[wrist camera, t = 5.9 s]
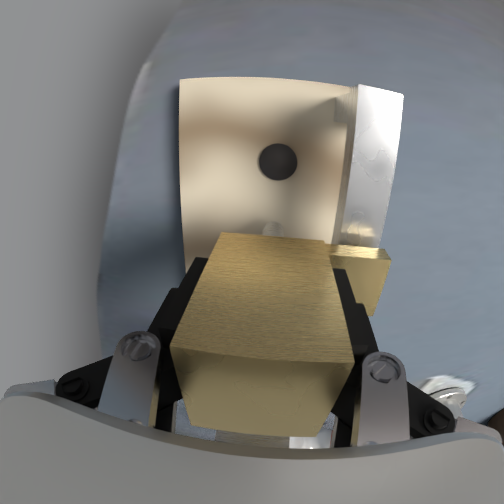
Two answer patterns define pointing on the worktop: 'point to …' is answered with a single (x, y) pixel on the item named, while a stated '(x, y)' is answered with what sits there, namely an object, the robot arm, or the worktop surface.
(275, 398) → the block
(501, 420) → the plant pot
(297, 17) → the worktop surface
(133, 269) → the worktop surface
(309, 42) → the worktop surface
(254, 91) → the hole plate
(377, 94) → the trammel frame
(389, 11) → the worktop surface
